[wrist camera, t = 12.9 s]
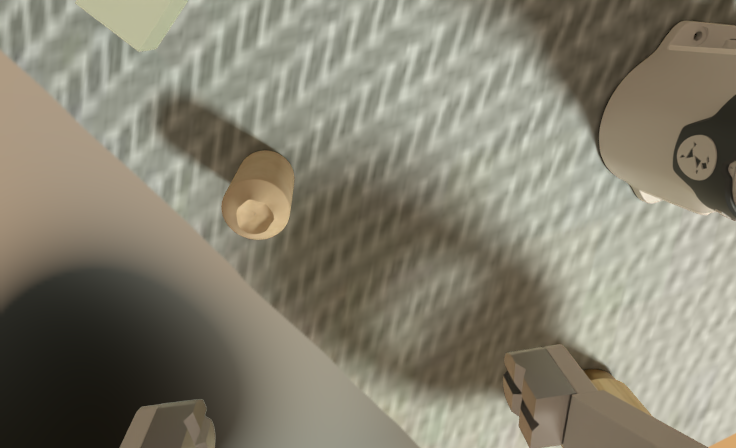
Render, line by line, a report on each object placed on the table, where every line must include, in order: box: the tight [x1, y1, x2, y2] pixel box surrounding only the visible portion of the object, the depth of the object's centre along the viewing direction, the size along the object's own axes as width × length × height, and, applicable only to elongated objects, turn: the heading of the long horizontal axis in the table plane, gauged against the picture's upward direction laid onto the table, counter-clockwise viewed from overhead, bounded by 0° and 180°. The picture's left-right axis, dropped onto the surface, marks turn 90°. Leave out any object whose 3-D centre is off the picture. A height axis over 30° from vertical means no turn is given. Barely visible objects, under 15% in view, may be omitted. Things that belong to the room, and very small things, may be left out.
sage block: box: [75, 0, 188, 52], centre depth 32 cm, size 5×5×4 cm
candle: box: [222, 150, 294, 240], centre depth 37 cm, size 6×6×10 cm
